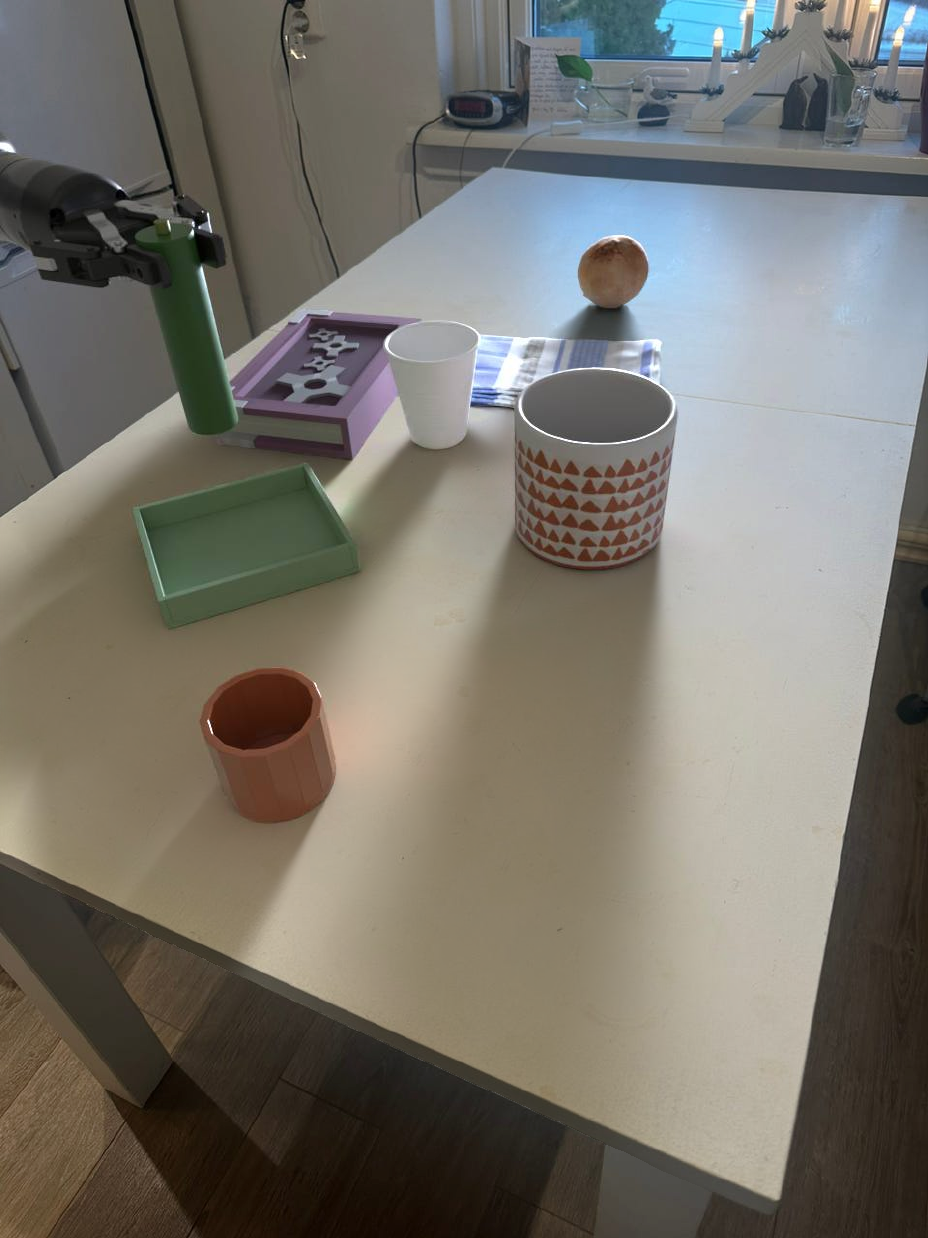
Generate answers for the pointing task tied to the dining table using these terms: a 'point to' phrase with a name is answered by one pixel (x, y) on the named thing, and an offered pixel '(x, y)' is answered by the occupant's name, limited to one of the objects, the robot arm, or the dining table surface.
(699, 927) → the dining table surface
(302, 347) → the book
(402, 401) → the cup
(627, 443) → the planter
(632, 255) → the onion
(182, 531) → the tray
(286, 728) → the crock
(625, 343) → the dish towel
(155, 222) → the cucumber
